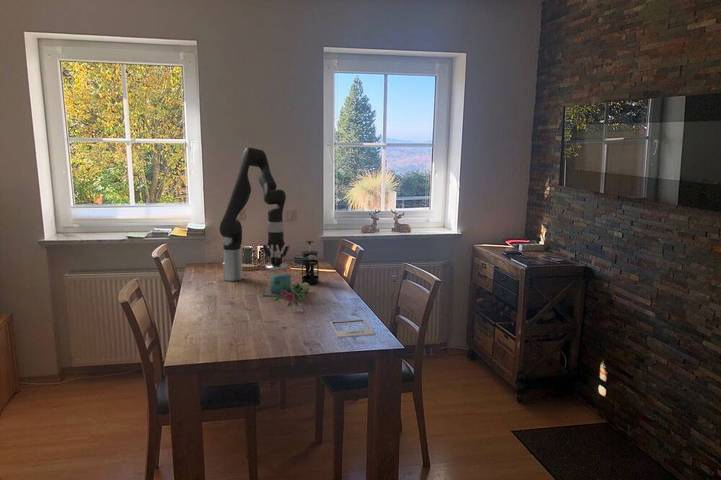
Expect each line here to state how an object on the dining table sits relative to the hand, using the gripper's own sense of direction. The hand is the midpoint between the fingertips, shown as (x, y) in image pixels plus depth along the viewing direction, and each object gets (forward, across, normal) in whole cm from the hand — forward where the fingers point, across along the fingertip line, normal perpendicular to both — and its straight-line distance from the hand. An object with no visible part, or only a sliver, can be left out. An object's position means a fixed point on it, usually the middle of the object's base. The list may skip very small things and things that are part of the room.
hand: (276, 264), depth 270 cm
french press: (+15, +10, +24) cm, 30 cm away
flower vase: (+15, +14, -10) cm, 23 cm away
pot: (+15, +1, +2) cm, 15 cm away
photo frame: (+15, +48, -42) cm, 66 cm away
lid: (+1, 0, 0) cm, 1 cm away
